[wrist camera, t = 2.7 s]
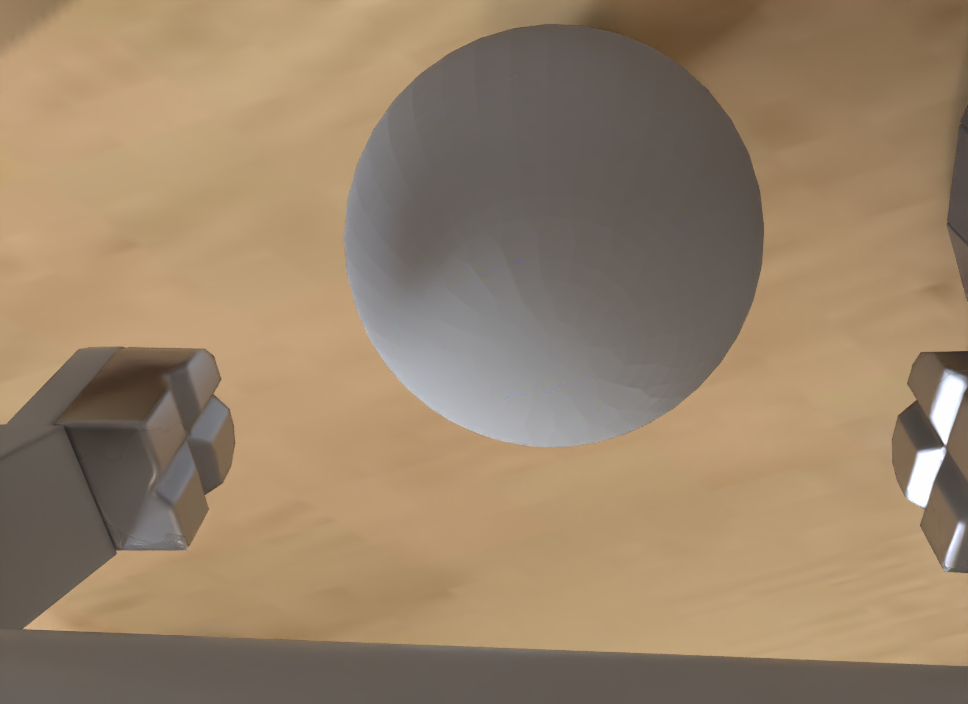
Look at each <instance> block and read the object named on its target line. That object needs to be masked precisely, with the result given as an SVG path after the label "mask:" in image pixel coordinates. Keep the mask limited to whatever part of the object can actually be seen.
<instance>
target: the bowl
mask: <svg viewBox="0 0 968 704" xmlns="http://www.w3.org/2000/svg"><path fill="white" fill-rule="evenodd" d="M961 123H962V124H960V126H959V134H958V141H957V149H956V157H955V164H954V172H953V180H952V188H951V195H950V203H949V211H948V218H947V221H948V223H947V227H948V231H949V235H950V239H951V242H952V246H953V250H954V253H955V257H956V261H957V265H958V268H959V272H960V276H961V280H962V283H963V287H964V291H965V295H966V298H967V301H968V106H967V108H966V110H965V113H964V115H963V117H962V119H961Z"/></svg>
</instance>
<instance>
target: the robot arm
mask: <svg viewBox="0 0 968 704" xmlns="http://www.w3.org/2000/svg"><path fill="white" fill-rule="evenodd" d="M220 381H221V377H220V373H219V370H218V367H217V364H216V361H215V358H214V356H213V355H212V354H211V353H209V352H208V351H207V350H206V349H189V348H145V347H128V348H125V347H88V348H83V349H78V350H77V351H76V352H75V353H74V354H73V355H72V357H71V358H70V359H69V360H68V361H67V362H66V363H65V364H64V365H63V366H62V367H61V368H60V369H59V370H58V371H57V372H56V373H55V374H54V375H53V376H52V377H51V378H50V379H49V380H48V381H47V382H46V383H45V385H44V386H43V387H42V388H41V389H40V390H39V391H38V392H37V393H36V394H35V395H34V396H33V397H32V398H31V399H30V400H29V401H28V402H27V403H26V404H25V405H24V406H23V407H22V408H21V409H20V410H19V412H18V413H17V414H16V415H15V416H14V417H13V418H12V419H11V420H10V421H9V422H8V423H7V424H6V425H0V704H968V666H947V665H923V664H898V663H873V662H848V661H824V660H799V659H774V658H750V657H725V656H700V655H676V654H650V653H623V652H597V651H570V650H544V649H517V648H491V647H464V646H438V645H411V644H385V643H358V642H332V641H306V640H281V639H255V638H230V637H204V636H179V635H153V634H127V633H102V632H76V631H51V630H25V629H23V628H24V627H25V626H27V625H28V624H29V623H30V622H32V621H33V620H34V619H35V618H37V617H38V616H39V615H40V614H42V613H43V612H44V611H45V610H47V609H48V608H49V607H51V606H52V605H53V604H54V603H56V602H57V601H58V600H59V599H61V598H62V597H63V596H64V595H66V594H67V593H68V592H69V591H71V590H72V589H73V588H74V587H76V586H77V585H78V584H79V583H81V582H82V581H83V580H84V579H86V578H87V577H88V576H89V575H91V574H92V573H93V572H94V571H96V570H97V569H98V568H99V567H101V566H102V565H103V564H105V563H106V562H107V561H108V560H110V559H111V558H112V557H113V556H115V555H116V550H187V549H188V548H189V546H190V544H191V542H192V540H193V538H194V536H195V534H196V533H197V531H198V529H199V527H200V525H201V523H202V521H203V520H204V518H205V516H206V514H207V512H208V510H209V508H208V505H207V501H206V498H205V495H206V494H207V493H209V492H210V491H212V490H213V489H215V488H216V487H218V486H219V485H221V484H222V483H223V482H224V480H225V478H226V476H227V474H228V472H229V470H230V468H231V464H232V459H233V453H234V447H235V435H234V424H233V420H232V417H231V413H230V409H229V408H228V407H227V406H226V405H225V404H224V403H222V402H221V401H220V400H219V399H218V398H217V397H216V396H215V395H214V392H215V390H216V388H217V386H218V384H219V383H220ZM907 384H908V386H909V388H910V389H911V391H912V392H913V394H914V396H915V397H916V399H917V400H916V401H915V402H914V403H912V404H911V405H910V406H909V407H908V408H906V409H905V410H904V411H903V412H902V413H901V414H899V415H898V417H897V421H896V426H895V430H894V434H893V438H892V463H893V467H894V471H895V475H896V479H897V481H898V483H899V486H900V488H901V490H902V492H903V494H904V496H905V497H906V498H908V499H909V500H911V501H912V502H914V503H915V504H917V505H918V506H920V507H921V508H923V509H924V510H925V511H924V514H923V517H922V521H921V524H920V527H921V529H922V531H923V532H924V534H925V536H926V538H927V540H928V542H929V544H930V546H931V548H932V550H933V551H934V553H935V555H936V557H937V559H938V561H939V563H940V565H941V567H942V568H943V570H944V572H960V573H968V351H952V352H921V353H920V354H919V356H918V357H917V359H916V360H915V362H914V363H913V365H912V369H911V372H910V375H909V379H908V382H907Z"/></svg>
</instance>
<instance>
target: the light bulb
mask: <svg viewBox="0 0 968 704" xmlns="http://www.w3.org/2000/svg"><path fill="white" fill-rule="evenodd" d="M763 238H764V222H763V213H762V205H761V196H760V190H759V186H758V182H757V179H756V176H755V172H754V169H753V166H752V163H751V159H750V156H749V154H748V151H747V149H746V147H745V145H744V143H743V141H742V139H741V138H740V136H739V134H738V132H737V130H736V128H735V126H734V124H733V122H732V120H731V119H730V117H729V116H728V115H727V114H726V112H725V111H724V110H723V108H722V107H721V106H720V105H719V103H718V102H717V101H716V99H715V98H714V97H713V96H712V94H711V93H710V92H709V90H708V89H707V88H706V87H705V86H703V85H702V84H701V83H700V82H699V81H698V80H697V79H696V78H695V77H693V76H692V75H691V74H690V73H689V72H688V71H687V70H686V69H685V68H683V67H682V66H681V65H680V64H678V63H677V62H675V61H673V60H672V59H670V58H669V57H667V56H665V55H664V54H662V53H660V52H659V51H657V50H656V49H654V48H652V47H651V46H649V45H646V44H644V43H641V42H639V41H636V40H634V39H631V38H629V37H626V36H624V35H621V34H619V33H615V32H611V31H606V30H601V29H597V28H592V27H587V26H580V25H559V24H545V25H537V26H529V27H520V28H513V29H510V30H506V31H503V32H500V33H496V34H493V35H489V36H486V37H482V38H480V39H478V40H476V41H473V42H471V43H469V44H467V45H465V46H463V47H461V48H459V49H457V50H455V51H453V52H451V53H449V54H448V55H446V56H445V57H443V58H442V59H441V60H439V61H438V62H436V63H435V64H434V65H432V66H431V67H429V68H428V69H427V70H425V71H424V72H422V73H421V74H420V75H419V76H418V77H417V78H416V79H415V80H414V81H413V82H412V83H411V84H410V85H409V86H408V87H407V88H406V89H405V90H404V91H403V92H402V93H401V94H400V95H399V96H398V97H397V98H396V99H395V100H394V101H393V103H392V104H391V106H390V107H389V108H388V110H387V111H386V113H385V114H384V115H383V117H382V118H381V120H380V121H379V122H378V124H377V125H376V127H375V128H374V130H373V132H372V134H371V136H370V138H369V140H368V142H367V144H366V146H365V149H364V151H363V153H362V155H361V157H360V159H359V161H358V164H357V167H356V170H355V174H354V178H353V181H352V185H351V189H350V192H349V196H348V200H347V210H346V220H345V231H344V243H345V256H346V268H347V275H348V279H349V283H350V287H351V291H352V295H353V299H354V303H355V306H356V309H357V312H358V314H359V316H360V319H361V321H362V323H363V325H364V328H365V330H366V332H367V335H368V337H369V338H370V340H371V342H372V343H373V345H374V347H375V348H376V350H377V351H378V353H379V354H380V356H381V358H382V359H383V361H384V362H385V364H386V365H387V366H388V367H389V369H390V370H391V371H392V372H393V373H394V374H395V376H396V377H397V378H398V379H399V380H400V381H401V382H402V384H403V385H404V386H405V387H406V388H407V389H408V390H410V391H411V392H412V393H413V394H414V395H415V396H417V397H418V398H419V399H420V400H421V401H422V402H424V403H425V404H426V405H427V406H428V407H430V408H431V409H433V410H434V411H436V412H437V413H439V414H440V415H442V416H444V417H445V418H447V419H448V420H450V421H452V422H454V423H456V424H458V425H460V426H462V427H464V428H466V429H469V430H471V431H473V432H475V433H478V434H481V435H484V436H487V437H490V438H493V439H496V440H499V441H503V442H509V443H514V444H519V445H524V446H538V447H566V446H578V445H584V444H589V443H595V442H600V441H604V440H607V439H610V438H613V437H617V436H620V435H623V434H626V433H628V432H631V431H633V430H635V429H637V428H639V427H642V426H644V425H646V424H648V423H651V422H652V421H654V420H655V419H657V418H659V417H660V416H662V415H663V414H665V413H667V412H668V411H670V410H671V409H673V408H674V407H676V406H677V405H678V404H679V403H681V402H682V401H683V400H684V399H685V398H687V397H688V396H689V395H690V394H691V393H693V392H694V391H695V390H696V389H697V388H698V387H699V386H700V385H701V384H702V383H703V382H704V381H705V380H706V379H707V377H708V376H709V375H710V374H711V373H712V372H713V371H714V370H715V368H716V367H717V366H718V365H719V364H720V363H721V361H722V360H723V358H724V357H725V355H726V353H727V352H728V350H729V349H730V347H731V346H732V344H733V343H734V341H735V340H736V338H737V336H738V334H739V333H740V330H741V328H742V326H743V323H744V321H745V319H746V317H747V314H748V312H749V310H750V307H751V305H752V302H753V299H754V295H755V291H756V287H757V283H758V279H759V275H760V271H761V265H762V254H763Z"/></svg>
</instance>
